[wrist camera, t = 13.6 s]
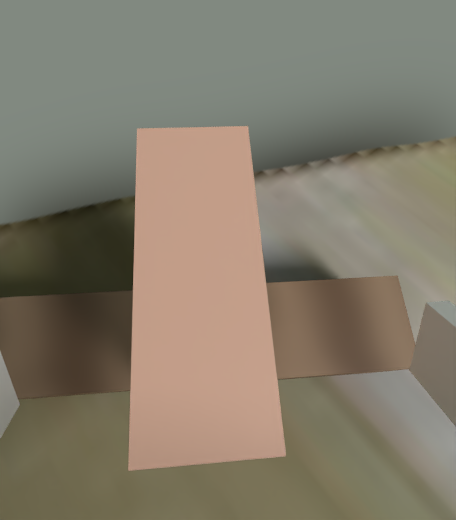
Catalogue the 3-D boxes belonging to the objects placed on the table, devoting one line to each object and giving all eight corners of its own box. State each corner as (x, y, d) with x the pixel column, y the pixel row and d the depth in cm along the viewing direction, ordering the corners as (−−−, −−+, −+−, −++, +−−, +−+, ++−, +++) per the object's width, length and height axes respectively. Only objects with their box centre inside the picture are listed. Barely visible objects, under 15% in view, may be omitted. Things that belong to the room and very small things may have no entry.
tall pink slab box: (183, 415, 19) (128, 470, 6) (179, 281, 22) (137, 128, 9) (235, 411, 20) (285, 455, 7) (225, 278, 22) (247, 126, 9)
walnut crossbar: (27, 398, 21) (-26, 401, 16) (37, 316, 22) (-8, 298, 18) (377, 372, 22) (421, 367, 18) (361, 297, 24) (397, 275, 19)
